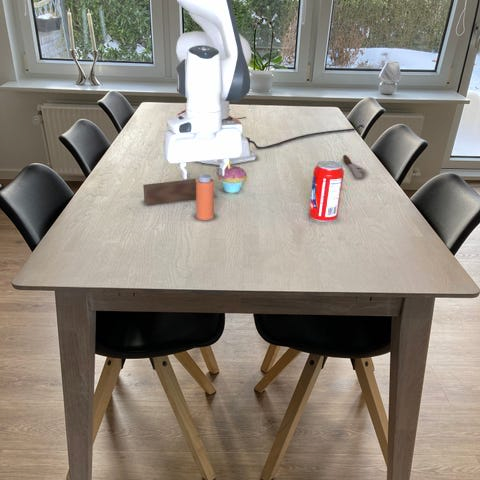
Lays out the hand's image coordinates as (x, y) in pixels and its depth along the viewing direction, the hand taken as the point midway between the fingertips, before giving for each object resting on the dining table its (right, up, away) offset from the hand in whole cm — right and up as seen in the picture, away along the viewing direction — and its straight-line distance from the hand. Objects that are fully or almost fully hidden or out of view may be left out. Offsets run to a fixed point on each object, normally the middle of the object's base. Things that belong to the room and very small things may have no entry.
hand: (203, 176), depth 136 cm
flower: (-3, +43, +82) cm, 93 cm away
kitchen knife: (+49, +15, +45) cm, 68 cm away
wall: (-8, -2, +16) cm, 18 cm away
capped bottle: (0, -9, +6) cm, 11 cm away
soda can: (+32, -9, +8) cm, 34 cm away
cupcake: (+7, +2, +24) cm, 25 cm away
